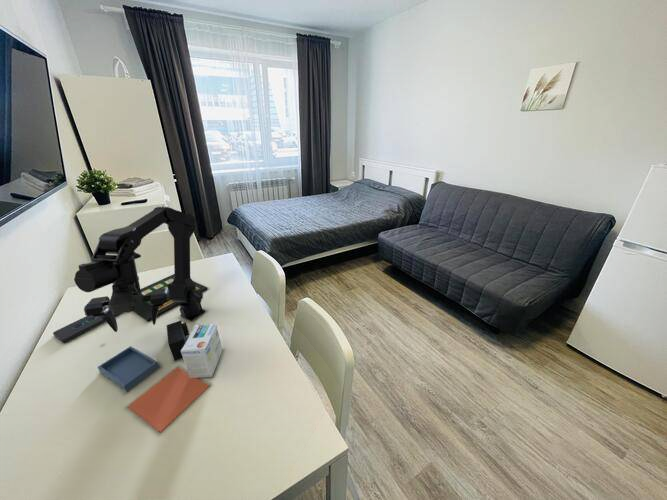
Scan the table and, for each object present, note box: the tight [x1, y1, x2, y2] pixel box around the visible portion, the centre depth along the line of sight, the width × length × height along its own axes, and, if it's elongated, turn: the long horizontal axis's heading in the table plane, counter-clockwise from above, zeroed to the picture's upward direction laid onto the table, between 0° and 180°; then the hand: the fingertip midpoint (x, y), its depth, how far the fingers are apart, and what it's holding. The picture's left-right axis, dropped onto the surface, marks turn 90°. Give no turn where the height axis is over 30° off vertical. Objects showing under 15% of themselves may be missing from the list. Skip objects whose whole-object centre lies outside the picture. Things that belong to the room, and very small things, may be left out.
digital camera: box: [166, 320, 190, 362], centre depth 87 cm, size 10×5×7 cm, turn 32°
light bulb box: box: [181, 323, 223, 379], centre depth 80 cm, size 11×7×11 cm, turn 5°
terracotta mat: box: [127, 367, 210, 433], centre depth 72 cm, size 14×14×1 cm
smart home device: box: [52, 313, 123, 344], centre depth 100 cm, size 8×2×20 cm
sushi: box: [132, 273, 209, 322], centre depth 115 cm, size 25×25×4 cm
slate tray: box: [97, 345, 160, 393], centre depth 80 cm, size 9×14×2 cm, turn 62°
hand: (135, 327), depth 78 cm, fingers open, 9 cm apart
